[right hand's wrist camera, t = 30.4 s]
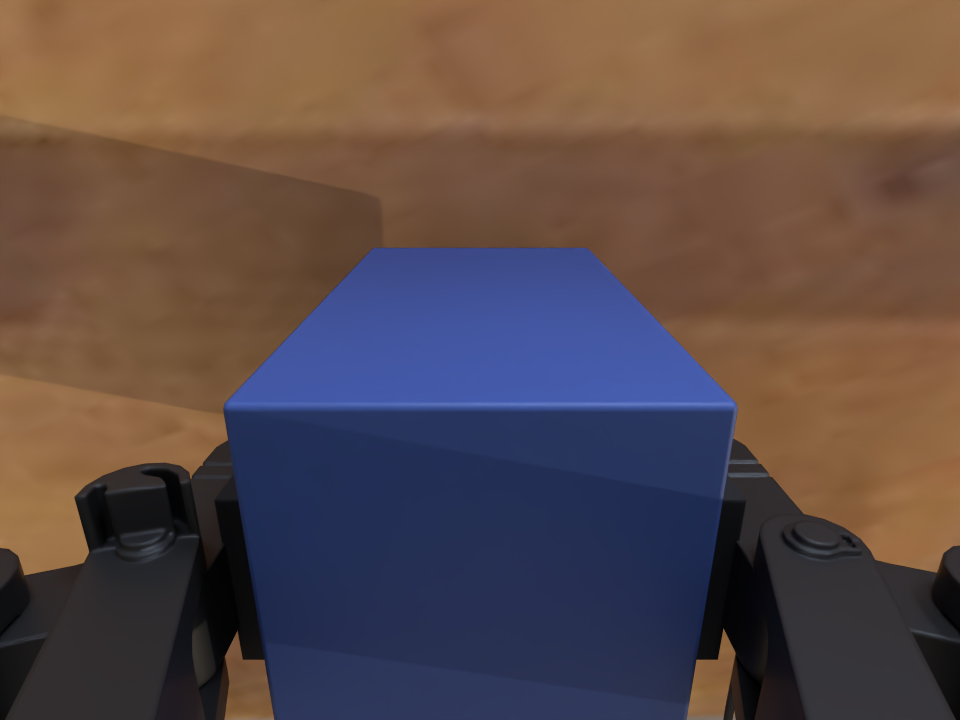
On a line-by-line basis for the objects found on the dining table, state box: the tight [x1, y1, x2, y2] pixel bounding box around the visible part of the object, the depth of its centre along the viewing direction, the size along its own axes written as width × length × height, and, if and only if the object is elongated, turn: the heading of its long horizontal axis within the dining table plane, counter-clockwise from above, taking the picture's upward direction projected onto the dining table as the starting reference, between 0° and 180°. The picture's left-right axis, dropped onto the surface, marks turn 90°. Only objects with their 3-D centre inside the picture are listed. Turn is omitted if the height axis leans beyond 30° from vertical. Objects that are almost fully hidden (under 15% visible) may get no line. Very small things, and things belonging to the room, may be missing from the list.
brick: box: [224, 248, 738, 720], centre depth 12 cm, size 5×6×9 cm
